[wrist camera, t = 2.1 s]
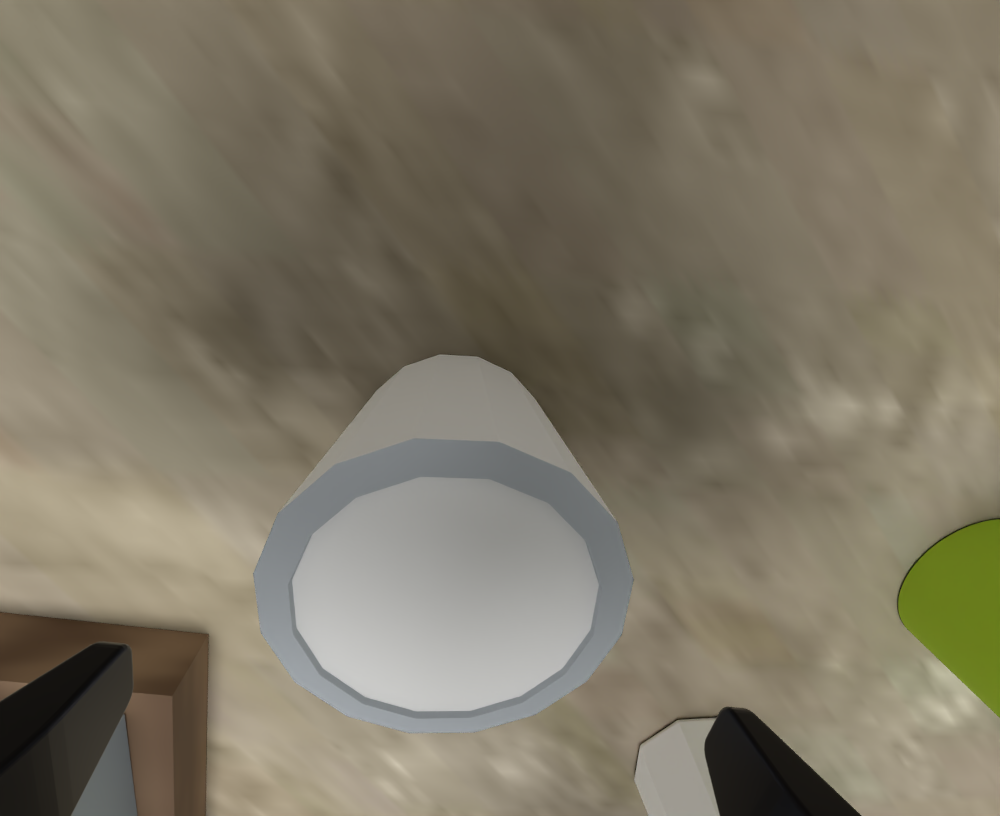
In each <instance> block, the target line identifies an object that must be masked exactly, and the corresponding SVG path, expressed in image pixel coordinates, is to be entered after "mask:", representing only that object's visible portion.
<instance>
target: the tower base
mask: <svg viewBox="0 0 1000 816" xmlns="http://www.w3.org/2000/svg"><path fill="white" fill-rule="evenodd" d="M101 641H105V642H114V643H124V644H128V645H129V646H130V647H131V649H132V661H133V682H134V686H133V692H132V696H131V699H130V701H129V704H128V706H127V708H126V710H125V712H124V714H123V715H125V722H126V730H127V738H128V746H129V753H130V761H131V769H132V777H133V785H134V793H135V800H136V808H137V816H206V764H207V704H208V644H209V634H200V633H191V632H182V631H172V630H163V629H153V628H144V627H134V626H125V625H115V624H106V623H97V622H87V621H78V620H68V619H59V618H49V617H40V616H31V615H21V614H12V613H2V612H0V701H1V700H2V699H4V698H6V697H7V696H9V695H11V694H12V693H14V692H15V691H17V690H19V689H20V688H22V687H23V686H25V685H27V684H28V683H30V682H31V681H33V680H35V679H36V678H38V677H39V676H41V675H43V674H44V673H46V672H47V671H49V670H51V669H52V668H54V667H55V666H57V665H59V664H60V663H62V662H63V661H65V660H67V659H68V658H70V657H71V656H73V655H75V654H76V653H78V652H80V651H81V650H83V649H84V648H86V647H88V646H89V645H91V644H93V643H96V642H101Z"/></svg>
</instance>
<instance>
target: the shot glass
mask: <svg viewBox="0 0 1000 816" xmlns="http://www.w3.org/2000/svg"><path fill="white" fill-rule="evenodd" d="M253 576H254V583H255V591H256V599H257V607H258V614H259V622H260V630H261V634H262V635H263V637H264V638H265V640H266V641H267V643H268V644H269V645H270V647H271V648H272V650H273V651H274V653H275V654H276V656H277V657H278V658H279V660H280V661H281V663H282V664H283V666H284V667H285V669H286V670H287V671H288V673H289V674H290V676H291V677H292V679H293V680H294V682H295V683H297V684H298V685H300V686H301V687H303V688H304V689H306V690H308V691H309V692H311V693H312V694H314V695H315V696H317V697H318V698H320V699H321V700H323V701H324V702H326V703H327V704H329V705H331V706H332V707H334V708H335V709H337V710H338V711H340V712H341V713H343V714H344V715H346V716H348V717H351V718H355V719H359V720H362V721H366V722H370V723H373V724H377V725H381V726H385V727H388V728H392V729H396V730H399V731H403V732H407V733H468V732H478V731H481V730H484V729H488V728H491V727H495V726H498V725H502V724H505V723H509V722H512V721H515V720H519V719H522V718H526V717H529V716H533V715H536V714H537V713H539V712H540V711H542V710H543V709H545V708H547V707H548V706H550V705H551V704H553V703H554V702H556V701H557V700H559V699H560V698H562V697H563V696H565V695H567V694H568V693H570V692H571V691H573V690H574V689H576V688H577V687H579V686H580V685H582V684H583V683H585V682H587V680H588V679H589V678H590V676H591V675H592V674H593V672H594V671H595V670H596V668H597V667H598V666H599V664H600V663H601V662H602V660H603V659H604V658H605V656H606V655H607V654H608V652H609V651H610V650H611V648H612V647H613V646H614V644H615V643H616V642H617V640H618V639H619V638H620V636H621V635H622V631H623V626H624V622H625V617H626V613H627V608H628V604H629V599H630V594H631V590H632V585H633V581H634V579H633V575H632V572H631V568H630V565H629V561H628V558H627V554H626V550H625V547H624V543H623V540H622V536H621V533H620V529H619V526H618V522H617V521H616V519H615V518H614V516H613V515H612V513H611V512H610V510H609V509H608V507H607V506H606V504H605V503H604V501H603V500H602V498H601V497H600V495H599V494H598V492H597V491H596V489H595V488H594V486H593V485H592V483H591V482H590V480H589V479H588V477H587V476H586V474H585V473H584V471H583V470H582V468H581V467H580V465H579V464H578V462H577V461H576V459H575V458H574V456H573V455H572V453H571V452H570V450H569V449H568V447H567V446H566V444H565V443H564V441H563V440H562V438H561V437H560V435H559V434H558V432H557V431H556V429H555V428H554V426H553V425H552V423H551V422H550V420H549V419H548V417H547V416H546V414H545V413H544V411H543V410H542V408H541V407H540V405H539V404H538V402H537V401H536V399H535V398H534V397H533V396H532V395H531V394H530V392H529V391H528V390H527V389H526V388H525V387H524V386H523V385H522V384H521V382H520V381H519V380H518V379H517V378H516V377H515V376H514V375H513V374H512V373H511V372H510V371H507V370H505V369H503V368H501V367H499V366H497V365H495V364H492V363H490V362H488V361H486V360H484V359H482V358H480V357H476V356H458V355H440V354H439V355H436V356H433V357H430V358H427V359H425V360H422V361H419V362H416V363H413V364H410V365H407V366H404V367H403V368H401V369H400V370H399V371H398V372H397V373H396V374H395V375H393V376H392V377H391V378H390V379H389V380H388V381H387V382H386V383H384V384H383V385H382V386H381V387H380V388H379V389H378V390H377V391H376V392H375V393H374V394H373V396H372V397H371V398H370V399H369V401H368V402H367V403H366V404H365V406H364V407H363V408H362V409H361V411H360V412H359V413H358V414H357V416H356V417H355V418H354V419H353V421H352V422H351V423H350V424H349V425H348V427H347V428H346V429H345V430H344V432H343V433H342V434H341V435H340V437H339V438H338V439H337V440H336V442H335V443H334V444H333V445H332V447H331V448H330V449H329V450H328V452H327V453H326V454H325V455H324V457H323V458H322V459H321V460H320V462H319V463H318V464H317V465H316V467H315V468H314V469H313V470H312V472H311V473H310V474H309V475H308V477H307V478H306V479H305V480H304V482H303V483H302V484H301V485H300V487H299V488H298V489H297V490H296V492H295V493H294V494H293V495H292V497H291V498H290V499H289V500H288V502H287V503H286V504H285V505H284V507H283V508H282V509H281V510H280V512H279V513H278V515H277V517H276V519H275V522H274V524H273V527H272V529H271V532H270V534H269V537H268V539H267V541H266V544H265V546H264V549H263V551H262V554H261V556H260V558H259V561H258V563H257V566H256V568H255V571H254V573H253Z"/></svg>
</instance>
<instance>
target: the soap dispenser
mask: <svg viewBox="0 0 1000 816" xmlns="http://www.w3.org/2000/svg"><path fill="white" fill-rule="evenodd" d="M898 611H899V615H900V618H901V620H902V622H903V624H904V626H905V627H906V628H907V629H908V630H909V631H910V632H911V633H912V634H913V635H914V636H915V637H916V638H917V639H918V640H919V641H920V642H921V643H922V644H923V645H924V646H925V647H926V648H927V649H929V650H930V651H931V652H932V653H933V654H934V655H935V656H936V657H937V658H938V659H939V660H940V661H941V662H942V663H943V664H944V665H945V666H946V667H947V668H948V669H949V670H950V671H951V672H953V673H954V674H955V675H956V676H957V677H958V678H959V679H960V680H961V681H962V682H963V683H964V684H965V685H966V686H967V687H968V688H969V689H970V690H971V691H972V692H973V693H974V694H975V695H976V696H978V697H979V698H980V699H981V700H982V701H983V702H984V703H985V704H986V705H987V706H988V707H989V708H990V709H991V710H992V711H993V712H994V713H995V714H996V715H997V716H998V717H999V718H1000V519H995V520H989V521H984V522H980V523H977V524H974V525H971V526H968V527H966V528H963V529H961V530H959V531H957V532H955V533H953V534H951V535H949V536H948V537H946V538H945V539H943V540H941V541H940V542H939V543H937V544H936V545H935V546H933V547H932V548H931V549H930V550H929V551H927V552H926V553H925V554H924V555H923V556H922V557H921V558H920V559H919V560H918V561H917V563H916V564H915V565H914V566H913V568H912V569H911V570H910V572H909V574H908V575H907V577H906V579H905V581H904V583H903V585H902V588H901V590H900V594H899V599H898Z"/></svg>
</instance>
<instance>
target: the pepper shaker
mask: <svg viewBox="0 0 1000 816" xmlns="http://www.w3.org/2000/svg"><path fill="white" fill-rule="evenodd" d="M715 720H716V718H701V719H684V720H677V721H675V722H674V723H672V724H671V725H669V726H668V727H666V728H665V729H663V730H662V731H660V732H659V733H657V734H656V735H654V736H653V737H651V738H650V739H648V740H647V741H645V742H644V743H642V744H641V745H640V750H639V755H638V761H637V767H636V773H635V778H634V781H635V783H636V786H637V788H638V791H639V793H640V796H641V798H642V801H643V803H644V806H645V808H646V811H647V813H648V816H720V815H719V811H718V807H717V803H716V799H715V795H714V791H713V787H712V783H711V779H710V775H709V771H708V767H707V763H706V759H705V752H704V744H705V739H706V737H707V735H708V733H709V731H710V729H711V727H712V725H713V724H714V722H715Z"/></svg>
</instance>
